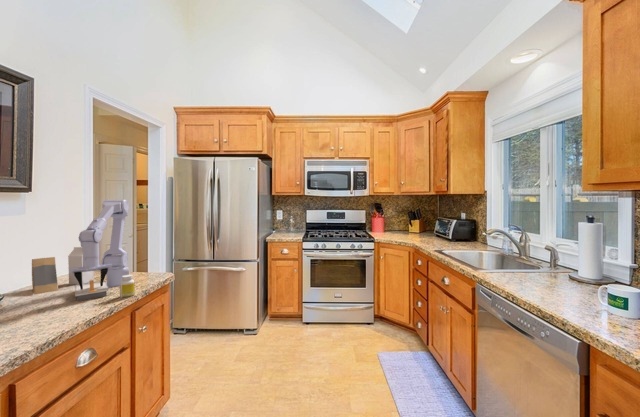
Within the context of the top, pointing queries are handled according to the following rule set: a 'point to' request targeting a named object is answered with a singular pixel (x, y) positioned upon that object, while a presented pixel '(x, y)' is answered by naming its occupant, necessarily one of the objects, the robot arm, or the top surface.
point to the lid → (90, 288)
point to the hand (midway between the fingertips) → (91, 287)
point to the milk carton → (75, 262)
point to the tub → (91, 296)
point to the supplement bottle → (127, 287)
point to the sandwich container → (44, 275)
